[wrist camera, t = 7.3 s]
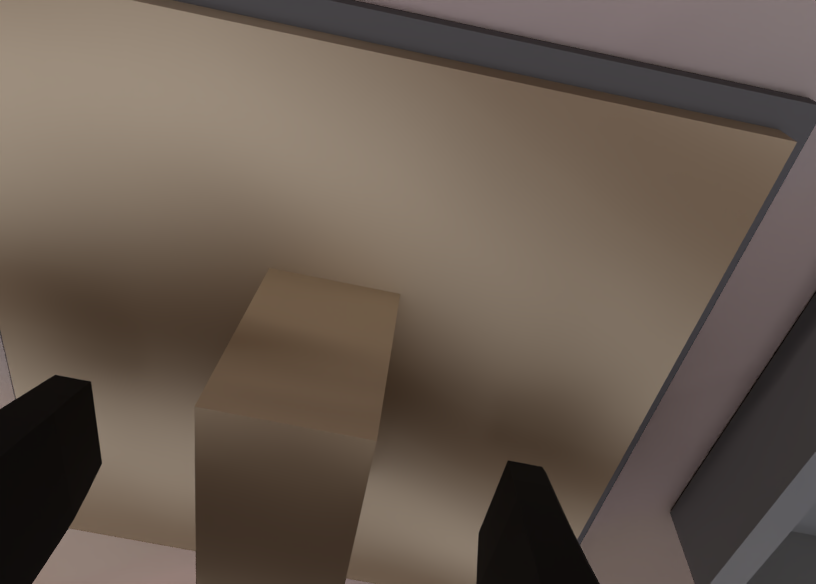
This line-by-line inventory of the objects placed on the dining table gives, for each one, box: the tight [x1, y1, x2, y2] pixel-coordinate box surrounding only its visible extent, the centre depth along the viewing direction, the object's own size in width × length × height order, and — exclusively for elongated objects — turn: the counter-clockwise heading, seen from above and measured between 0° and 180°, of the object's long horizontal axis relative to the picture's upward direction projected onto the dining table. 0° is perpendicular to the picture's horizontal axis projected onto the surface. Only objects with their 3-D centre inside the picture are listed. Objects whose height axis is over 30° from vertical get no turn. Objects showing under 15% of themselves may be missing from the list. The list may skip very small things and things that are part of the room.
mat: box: [0, 0, 816, 545], centre depth 13 cm, size 14×14×1 cm
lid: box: [0, 0, 797, 584], centre depth 11 cm, size 13×13×4 cm
